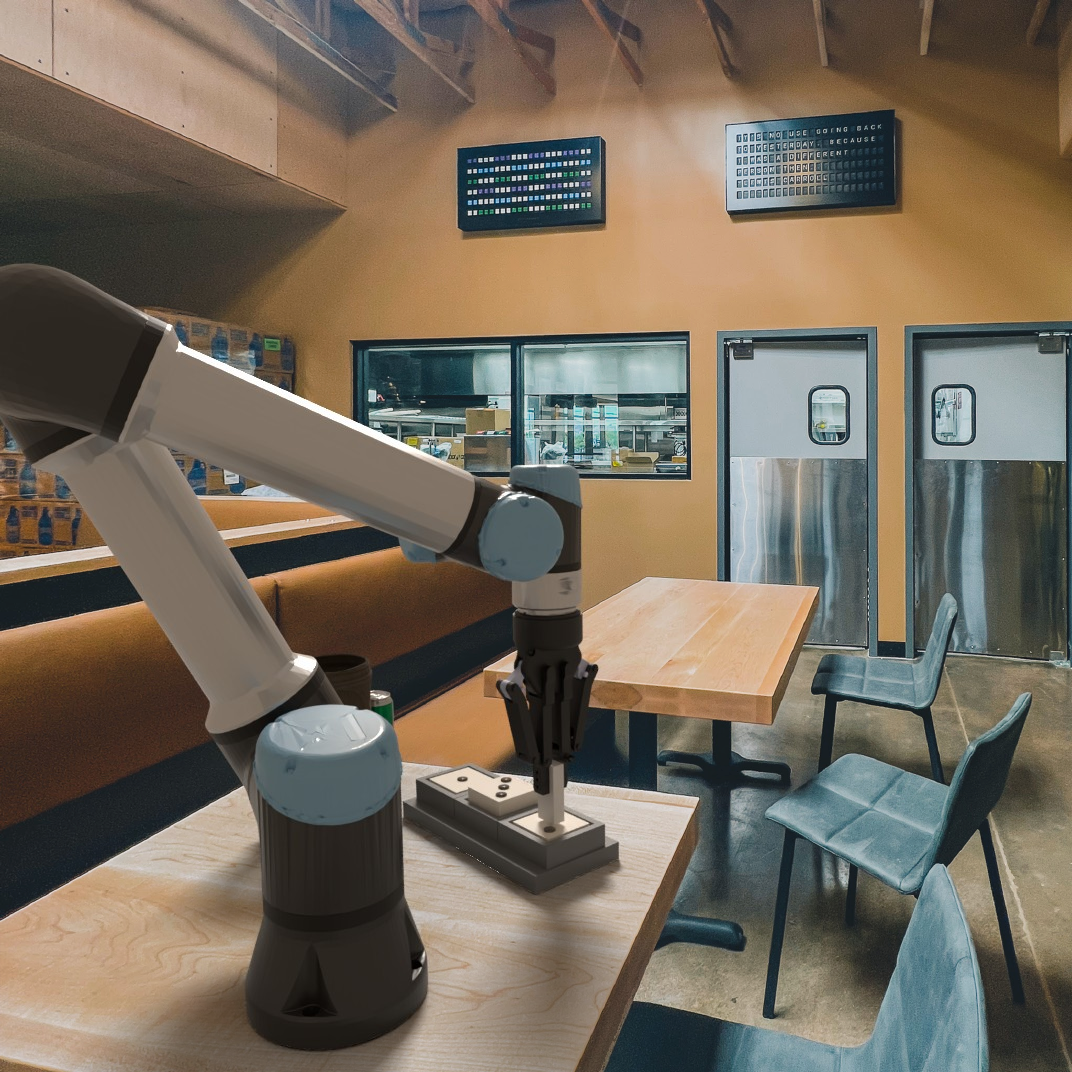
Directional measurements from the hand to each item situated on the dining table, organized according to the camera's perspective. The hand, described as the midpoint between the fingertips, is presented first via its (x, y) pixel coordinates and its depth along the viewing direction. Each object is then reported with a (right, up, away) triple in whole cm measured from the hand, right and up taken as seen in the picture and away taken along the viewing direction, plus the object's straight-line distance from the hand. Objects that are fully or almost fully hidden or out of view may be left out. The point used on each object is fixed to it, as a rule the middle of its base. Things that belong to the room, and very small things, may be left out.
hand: (551, 818), depth 99 cm
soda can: (-24, -3, +26) cm, 35 cm away
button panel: (-5, -4, +7) cm, 10 cm away
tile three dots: (-5, -1, +7) cm, 9 cm away
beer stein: (-29, -4, +13) cm, 32 cm away
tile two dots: (0, -3, 0) cm, 3 cm away
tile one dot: (-11, -2, +13) cm, 17 cm away
